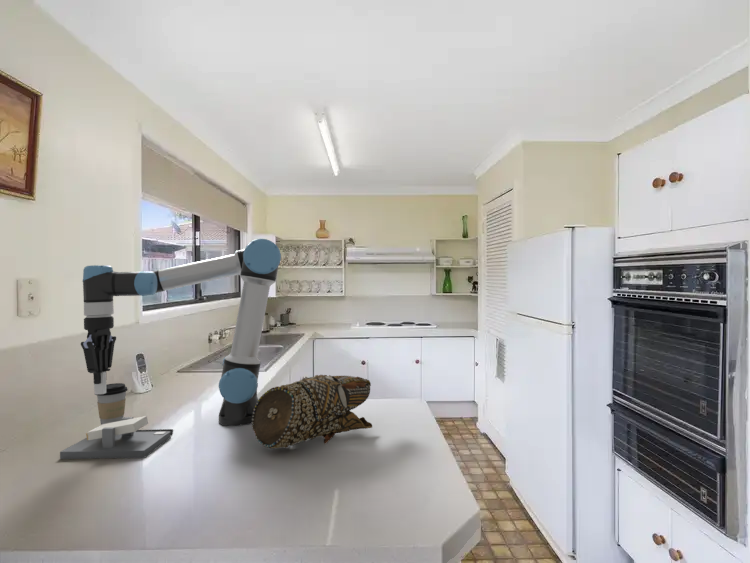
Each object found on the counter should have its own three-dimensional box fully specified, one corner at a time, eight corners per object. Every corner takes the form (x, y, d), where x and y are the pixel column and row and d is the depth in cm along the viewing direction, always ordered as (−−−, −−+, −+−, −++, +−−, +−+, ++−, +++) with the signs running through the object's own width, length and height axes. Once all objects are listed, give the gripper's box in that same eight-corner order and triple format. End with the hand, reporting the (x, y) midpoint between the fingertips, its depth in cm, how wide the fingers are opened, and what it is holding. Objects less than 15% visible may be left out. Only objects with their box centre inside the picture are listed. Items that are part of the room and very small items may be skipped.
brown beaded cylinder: (329, 379, 152) (244, 381, 127) (370, 357, 140) (286, 355, 115) (342, 445, 142) (253, 461, 117) (388, 428, 130) (300, 442, 105)
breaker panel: (170, 437, 131) (170, 414, 131) (144, 457, 116) (144, 431, 116) (96, 438, 131) (95, 415, 131) (60, 458, 116) (59, 432, 116)
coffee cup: (112, 435, 133) (111, 390, 133) (88, 434, 135) (87, 389, 135) (134, 425, 143) (134, 383, 143) (111, 424, 144) (111, 382, 145)
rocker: (148, 423, 127) (146, 415, 127) (135, 431, 120) (133, 423, 120) (103, 431, 127) (101, 424, 127) (87, 440, 120) (85, 432, 120)
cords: (174, 432, 136) (174, 428, 136) (170, 435, 133) (170, 431, 133) (123, 433, 136) (123, 429, 136) (118, 436, 133) (118, 432, 133)
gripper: (100, 314, 130) (102, 388, 130) (70, 318, 117) (72, 400, 117) (124, 314, 130) (125, 387, 130) (96, 317, 117) (98, 399, 117)
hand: (100, 393), depth 124 cm, fingers closed
